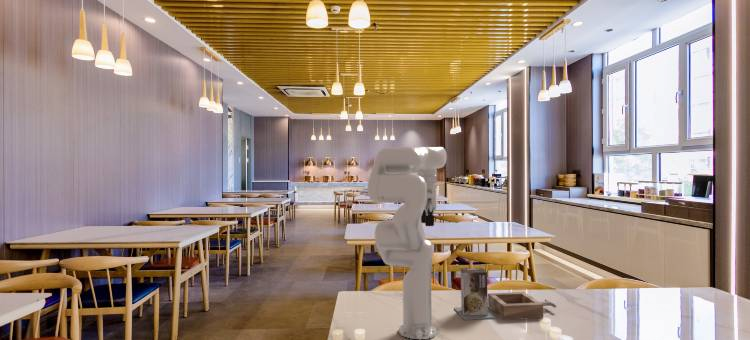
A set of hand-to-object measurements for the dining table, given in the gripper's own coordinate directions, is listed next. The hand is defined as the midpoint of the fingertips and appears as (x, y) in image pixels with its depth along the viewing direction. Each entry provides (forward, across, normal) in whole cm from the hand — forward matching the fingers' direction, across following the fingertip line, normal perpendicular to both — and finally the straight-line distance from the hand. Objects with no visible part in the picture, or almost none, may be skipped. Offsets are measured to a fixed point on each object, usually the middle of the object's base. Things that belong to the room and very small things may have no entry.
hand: (427, 224), depth 155 cm
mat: (+33, -5, -17) cm, 38 cm away
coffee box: (+33, -5, -17) cm, 37 cm away
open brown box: (+33, -4, -36) cm, 50 cm away
